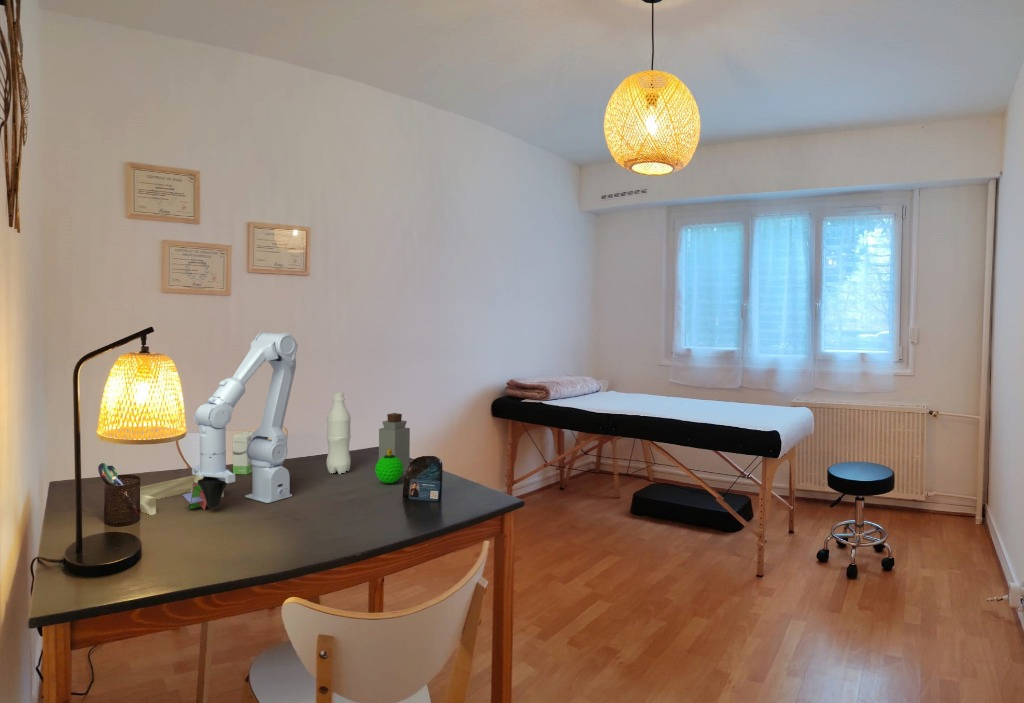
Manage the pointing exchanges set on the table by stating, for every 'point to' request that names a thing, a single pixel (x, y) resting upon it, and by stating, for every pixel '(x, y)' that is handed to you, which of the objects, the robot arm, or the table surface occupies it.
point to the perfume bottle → (395, 438)
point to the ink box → (241, 453)
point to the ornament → (389, 468)
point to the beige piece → (165, 491)
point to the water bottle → (338, 436)
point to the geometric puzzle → (195, 497)
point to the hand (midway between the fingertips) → (213, 507)
